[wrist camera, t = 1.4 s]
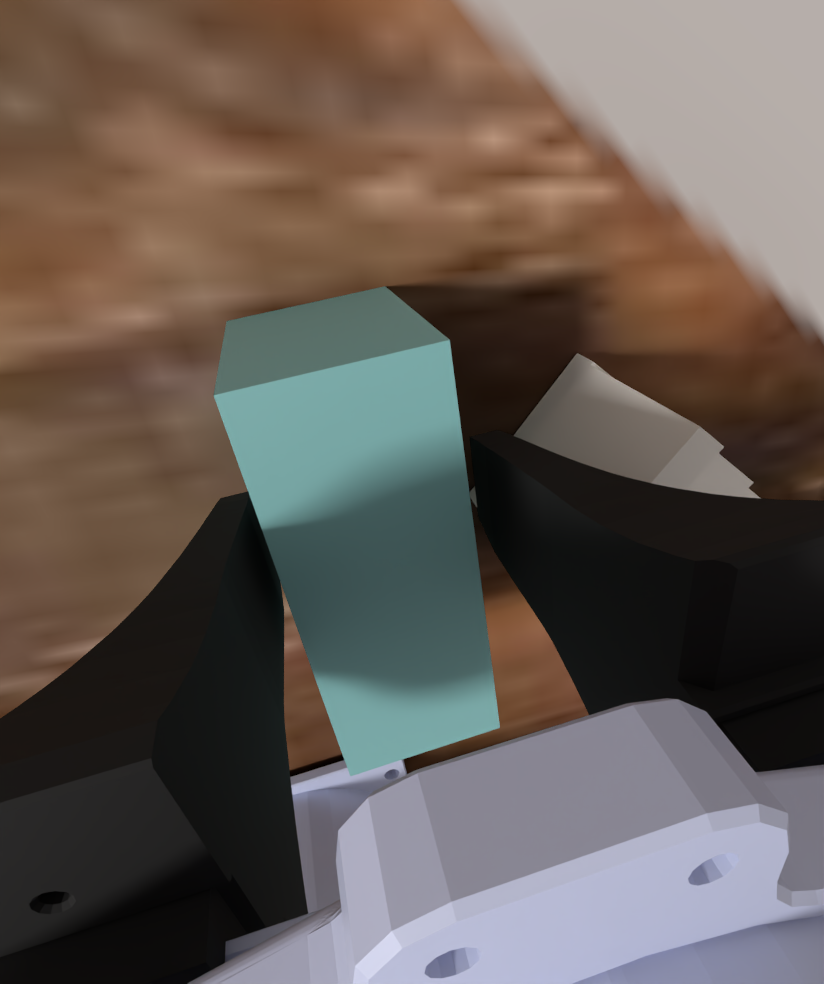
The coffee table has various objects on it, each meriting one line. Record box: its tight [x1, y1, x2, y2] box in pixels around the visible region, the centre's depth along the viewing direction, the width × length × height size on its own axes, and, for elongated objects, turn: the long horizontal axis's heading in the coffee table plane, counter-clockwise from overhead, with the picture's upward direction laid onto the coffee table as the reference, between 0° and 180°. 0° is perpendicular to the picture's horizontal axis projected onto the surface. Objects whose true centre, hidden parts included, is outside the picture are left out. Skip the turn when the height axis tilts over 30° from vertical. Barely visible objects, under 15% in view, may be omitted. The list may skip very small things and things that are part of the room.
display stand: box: [470, 353, 760, 507], centre depth 16 cm, size 12×5×5 cm, turn 54°
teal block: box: [214, 287, 500, 776], centre depth 13 cm, size 9×4×5 cm, turn 10°
